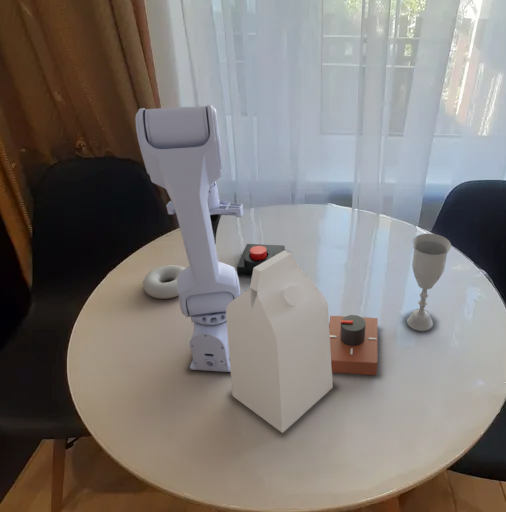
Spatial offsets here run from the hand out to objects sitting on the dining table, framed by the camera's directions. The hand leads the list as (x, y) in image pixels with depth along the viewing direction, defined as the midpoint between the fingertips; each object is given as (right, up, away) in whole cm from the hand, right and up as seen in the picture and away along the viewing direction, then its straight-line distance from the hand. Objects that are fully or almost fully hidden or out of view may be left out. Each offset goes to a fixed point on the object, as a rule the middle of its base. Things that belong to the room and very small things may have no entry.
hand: (211, 245), depth 99 cm
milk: (+17, -26, -18) cm, 36 cm away
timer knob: (+29, -18, -12) cm, 36 cm away
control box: (+9, -3, +13) cm, 16 cm away
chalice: (+42, -16, -4) cm, 45 cm away
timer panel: (+29, -20, -10) cm, 36 cm away
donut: (-10, -9, +5) cm, 14 cm away
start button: (+8, -2, +9) cm, 12 cm away
